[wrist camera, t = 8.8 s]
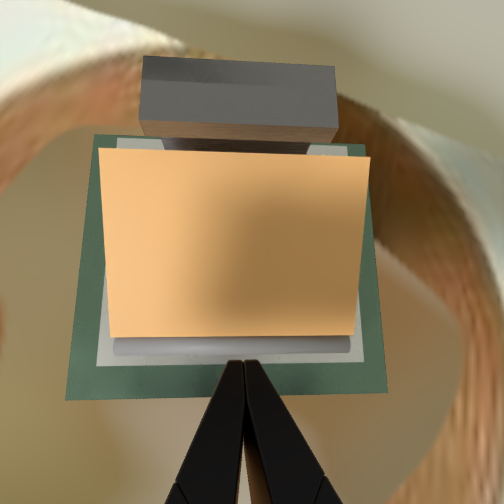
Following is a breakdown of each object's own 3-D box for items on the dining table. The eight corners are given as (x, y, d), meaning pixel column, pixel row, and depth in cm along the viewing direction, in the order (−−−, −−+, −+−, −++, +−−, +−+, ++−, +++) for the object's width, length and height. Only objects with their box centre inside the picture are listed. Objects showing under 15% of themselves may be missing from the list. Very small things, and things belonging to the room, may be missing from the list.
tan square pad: (351, 356, 16) (370, 156, 14) (111, 360, 15) (98, 147, 13) (344, 346, 17) (361, 158, 15) (118, 349, 16) (107, 150, 14)
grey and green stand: (380, 389, 21) (542, 451, 10) (73, 396, 19) (-110, 476, 9) (359, 151, 24) (462, 15, 14) (99, 142, 23) (-6, -18, 12)
